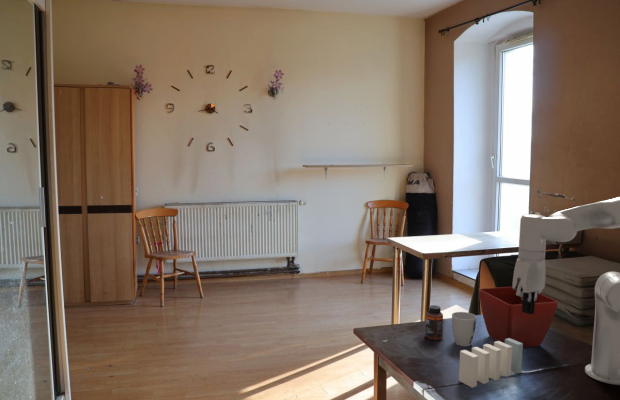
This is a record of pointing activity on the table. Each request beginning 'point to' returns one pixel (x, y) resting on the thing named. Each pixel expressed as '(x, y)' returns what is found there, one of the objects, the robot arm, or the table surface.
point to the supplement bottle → (434, 323)
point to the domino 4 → (505, 357)
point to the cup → (463, 327)
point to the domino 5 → (515, 354)
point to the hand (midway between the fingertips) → (528, 312)
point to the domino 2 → (482, 364)
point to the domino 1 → (468, 368)
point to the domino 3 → (494, 361)
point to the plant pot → (515, 316)
